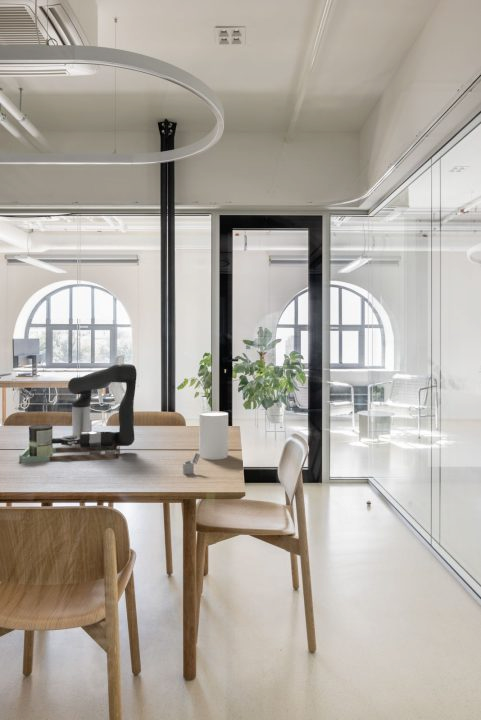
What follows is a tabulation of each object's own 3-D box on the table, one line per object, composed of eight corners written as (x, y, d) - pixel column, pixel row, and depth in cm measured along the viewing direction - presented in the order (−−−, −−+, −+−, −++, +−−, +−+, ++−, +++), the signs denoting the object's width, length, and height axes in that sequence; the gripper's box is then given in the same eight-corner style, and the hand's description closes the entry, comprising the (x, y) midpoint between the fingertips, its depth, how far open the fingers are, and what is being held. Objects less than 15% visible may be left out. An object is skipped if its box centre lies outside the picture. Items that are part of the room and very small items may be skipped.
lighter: (184, 474, 204) (184, 455, 204) (182, 473, 206) (182, 454, 205) (200, 472, 207) (200, 453, 207) (198, 471, 209) (198, 452, 208)
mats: (115, 450, 246) (115, 449, 246) (114, 457, 232) (114, 456, 232) (90, 451, 243) (90, 450, 243) (87, 458, 229) (87, 457, 229)
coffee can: (25, 459, 227) (24, 428, 226) (34, 453, 237) (34, 424, 237) (48, 459, 227) (47, 428, 226) (56, 453, 237) (55, 424, 237)
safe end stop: (56, 451, 242) (56, 445, 242) (49, 461, 224) (49, 454, 224) (28, 452, 240) (28, 446, 239) (19, 462, 222) (19, 455, 221)
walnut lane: (119, 449, 248) (119, 445, 248) (118, 458, 230) (118, 453, 230) (28, 452, 240) (28, 448, 239) (19, 462, 222) (19, 457, 221)
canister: (233, 455, 236) (234, 413, 235) (213, 461, 226) (213, 417, 225) (213, 451, 245) (214, 410, 244) (193, 455, 235) (193, 413, 234)
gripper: (92, 429, 242) (54, 430, 239) (89, 434, 229) (49, 435, 226) (92, 444, 243) (54, 445, 239) (89, 450, 230) (49, 452, 226)
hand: (52, 440), depth 233 cm, fingers closed
